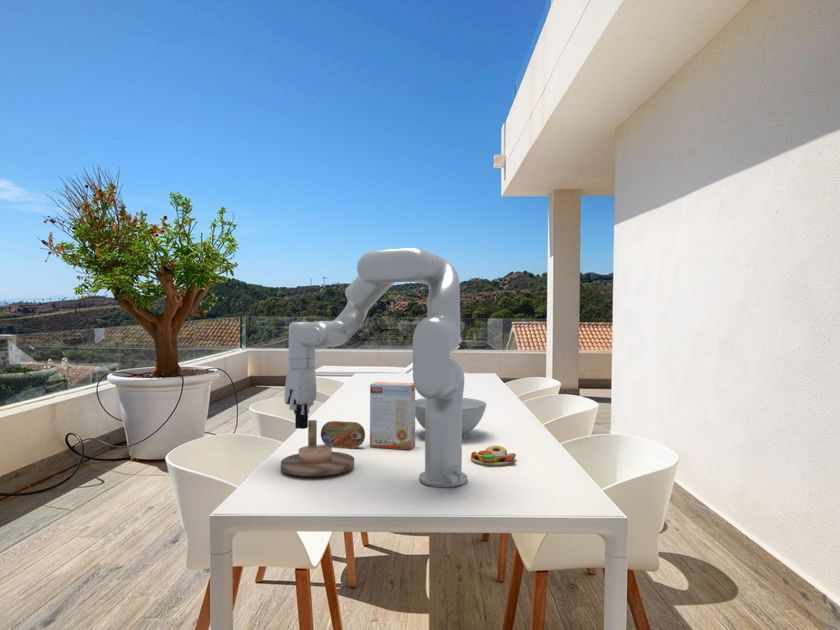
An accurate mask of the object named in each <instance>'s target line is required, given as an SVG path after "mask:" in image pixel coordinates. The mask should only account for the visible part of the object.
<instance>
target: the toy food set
mask: <svg viewBox="0 0 840 630" xmlns="http://www.w3.org/2000/svg"><path fill="white" fill-rule="evenodd" d="M516 456H517V455H516V453H514V452H513V453H512V452H511V453H508V450H507V448H505V447H504V446H503V445H502V446H501V445H492V446H488V447H486V449H485V450H479V451H478V452H477V451H472V452H471V455H470V459H471V460H472V462H473V463H475V464H477V465H480V466H487V467H505V466H508V465H511V464H512V463H513V462H514V461H515V458H516Z"/></svg>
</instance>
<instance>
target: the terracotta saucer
mask: <svg viewBox="0 0 840 630" xmlns="http://www.w3.org/2000/svg"><path fill="white" fill-rule="evenodd" d="M332 448H333V447H329V446H327V445H325V444H324V445H322V444H321V445H320V444H319V445H318V444H317V445H312V446H308V445H305V446H301V447H300V448H298V454H299V462H300V463H304V464H321V463H326V462H329V461H331V460H332V452H333V451H332V450H333V449H332Z"/></svg>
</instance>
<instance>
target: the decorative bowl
mask: <svg viewBox="0 0 840 630" xmlns="http://www.w3.org/2000/svg"><path fill="white" fill-rule="evenodd" d="M426 400H427V399H426V398H424V397H422V398H418V399H417V398H416V399H415V420H416V421H417V422H418V424H419V425H420V426H421V427H422V428H423V429H424V430H425V411H426ZM486 408H487V403H486V402H485V401H483V400H481V399H475V398H470V397H469V398H468V397H463V400H462V440H463V439H465V438H466V437H467V436H466V435H467V434H469V433H470V432H471V431H473V430H474V429H475V428H476V427H477V426H478V425H479V423H480V422H481V420H482V418H483V416H484V414H485V411H486Z"/></svg>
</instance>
